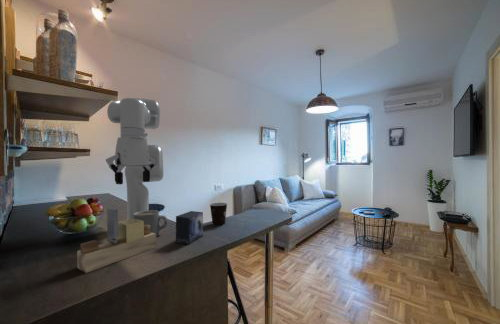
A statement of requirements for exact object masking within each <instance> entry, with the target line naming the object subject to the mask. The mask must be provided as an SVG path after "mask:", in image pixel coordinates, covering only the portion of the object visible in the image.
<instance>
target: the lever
mask: <svg viewBox="0 0 500 324" xmlns="http://www.w3.org/2000/svg"><path fill="white" fill-rule="evenodd" d="M106 216H107V217H106V218H107V219H106V221H107V223H106V224H107V225H106V226H107V227H106V228H107V230H106V231H107V232H106V233H107V234H106V236H107V239H106V241H107V242H110V243H113V244H118V243H119V240H117V239H116V238H117V237H118V221H119V210H118V208H113V207H108V208H106Z"/></svg>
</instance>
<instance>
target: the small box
mask: <svg viewBox="0 0 500 324" xmlns="http://www.w3.org/2000/svg"><path fill="white" fill-rule="evenodd" d="M202 237H204V212H203V211H195V210H190V211H187V212H184V213H181V214H179V215H176V216H175V243H176V244H182V245H190V244H192V243H194V242H195V241H197V240H199V239H201V238H202ZM198 238H199V239H198Z"/></svg>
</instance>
